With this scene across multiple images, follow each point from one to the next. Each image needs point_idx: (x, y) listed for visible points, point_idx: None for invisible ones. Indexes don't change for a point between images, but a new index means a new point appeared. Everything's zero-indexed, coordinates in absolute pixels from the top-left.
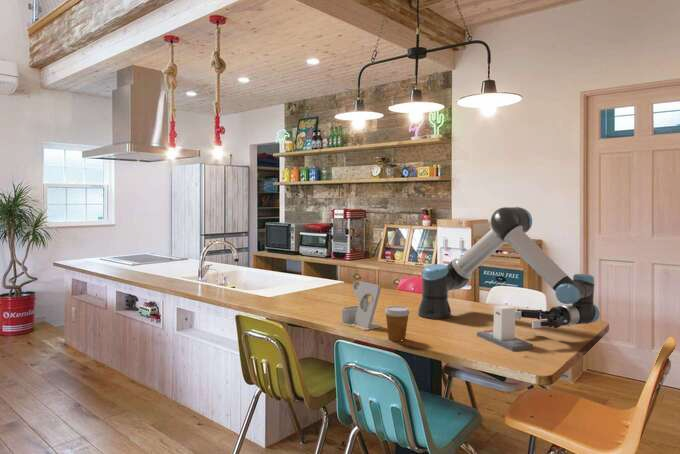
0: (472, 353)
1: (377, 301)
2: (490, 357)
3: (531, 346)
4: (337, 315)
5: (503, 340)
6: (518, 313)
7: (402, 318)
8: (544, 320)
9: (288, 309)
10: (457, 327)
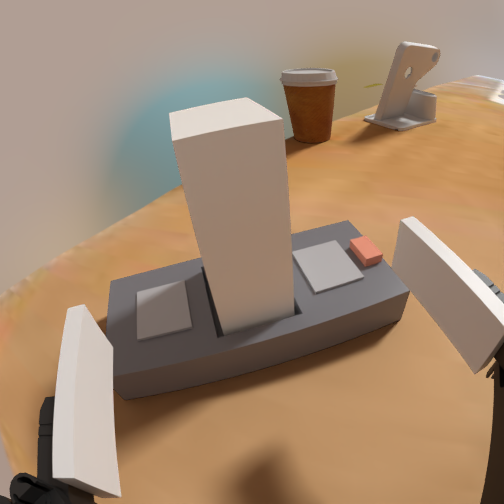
0: (180, 218)
1: (395, 74)
2: (131, 247)
3: None
4: (447, 114)
5: (200, 275)
6: (474, 315)
7: (285, 89)
8: (57, 433)
9: (444, 98)
10: (491, 226)
